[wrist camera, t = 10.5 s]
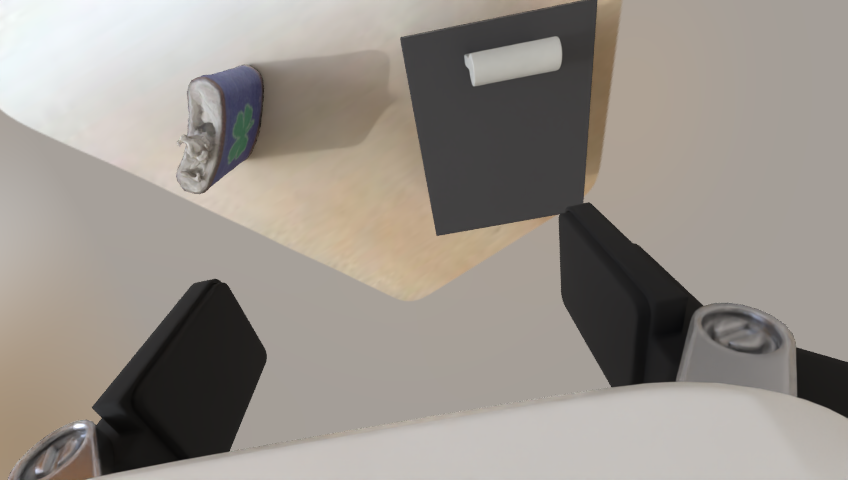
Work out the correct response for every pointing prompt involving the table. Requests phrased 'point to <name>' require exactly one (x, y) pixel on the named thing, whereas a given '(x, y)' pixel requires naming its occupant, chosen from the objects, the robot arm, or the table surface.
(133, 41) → the table surface
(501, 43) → the lid
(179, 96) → the table surface
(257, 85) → the flask
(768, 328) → the robot arm
